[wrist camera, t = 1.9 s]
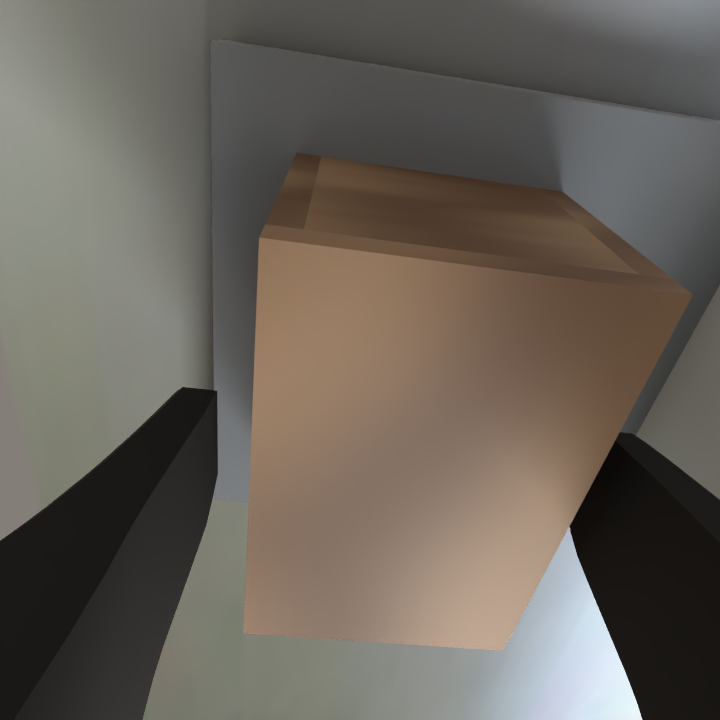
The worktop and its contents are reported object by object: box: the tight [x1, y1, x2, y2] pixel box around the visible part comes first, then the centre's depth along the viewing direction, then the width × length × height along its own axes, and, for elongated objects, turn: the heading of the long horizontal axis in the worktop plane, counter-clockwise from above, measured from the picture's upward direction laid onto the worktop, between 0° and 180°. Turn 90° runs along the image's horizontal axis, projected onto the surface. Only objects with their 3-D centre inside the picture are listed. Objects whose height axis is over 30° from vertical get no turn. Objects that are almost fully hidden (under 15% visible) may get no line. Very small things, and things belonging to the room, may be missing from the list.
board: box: [210, 39, 720, 531], centre depth 14 cm, size 18×12×1 cm, turn 82°
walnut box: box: [244, 153, 693, 651], centre depth 11 cm, size 6×9×5 cm, turn 172°
